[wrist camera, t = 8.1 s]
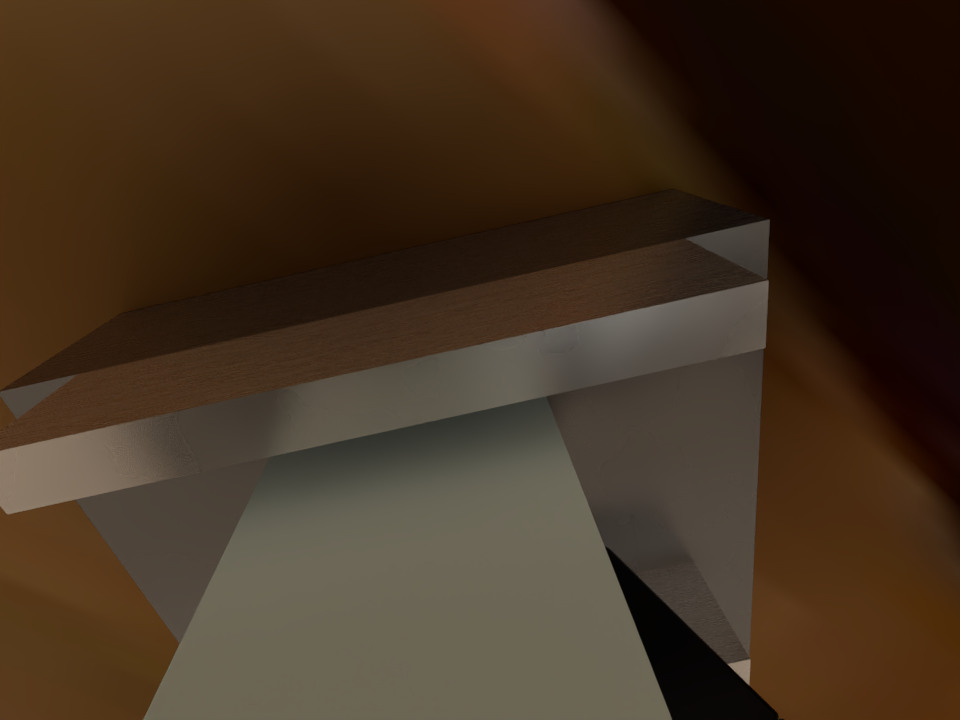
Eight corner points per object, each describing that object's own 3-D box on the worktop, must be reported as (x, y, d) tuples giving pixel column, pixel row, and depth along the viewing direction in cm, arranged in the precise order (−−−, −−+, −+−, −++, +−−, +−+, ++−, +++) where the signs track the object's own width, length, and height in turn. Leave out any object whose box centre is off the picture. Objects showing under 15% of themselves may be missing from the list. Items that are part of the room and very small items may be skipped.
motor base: (673, 188, 13) (995, 290, 5) (687, 582, 19) (845, 875, 11) (120, 313, 13) (-284, 571, 6) (313, 661, 19) (240, 996, 12)
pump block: (545, 395, 9) (708, 813, 4) (579, 588, 11) (711, 1027, 6) (271, 455, 9) (32, 949, 4) (357, 635, 11) (286, 1109, 6)
